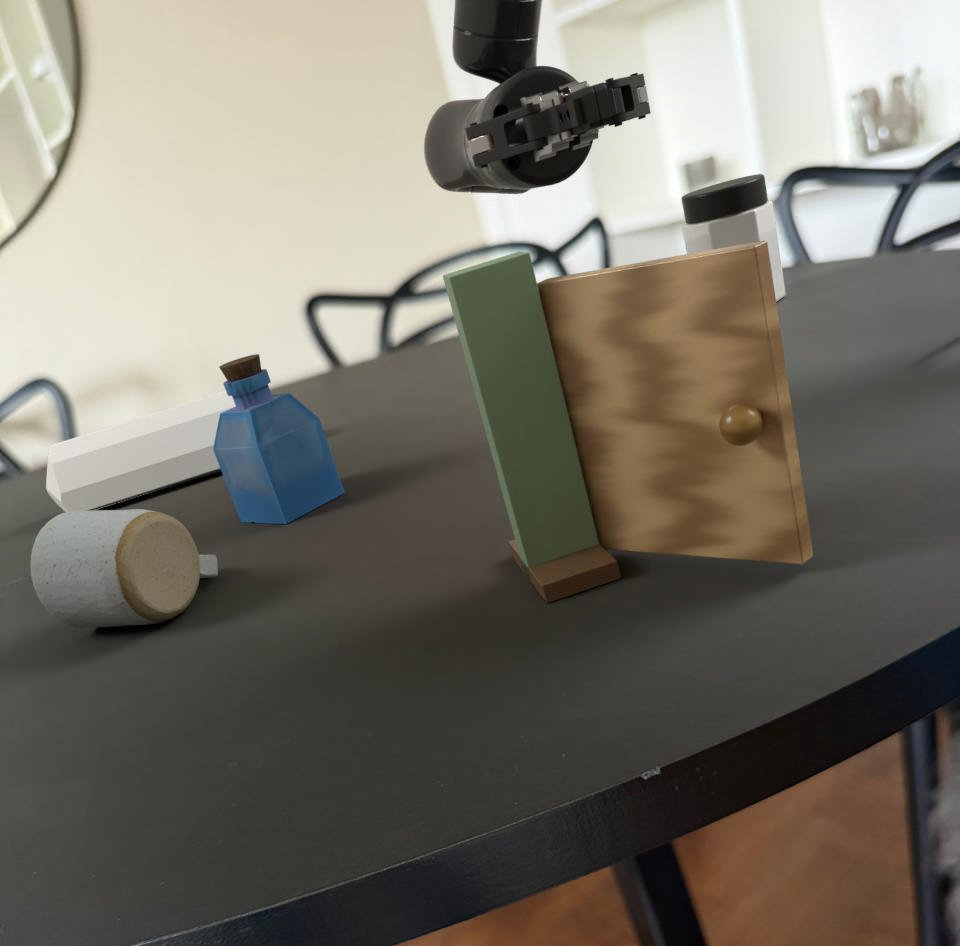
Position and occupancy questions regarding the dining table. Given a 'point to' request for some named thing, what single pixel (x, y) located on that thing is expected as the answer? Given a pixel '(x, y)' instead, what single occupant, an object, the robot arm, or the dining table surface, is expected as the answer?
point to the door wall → (528, 425)
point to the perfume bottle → (271, 449)
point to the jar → (733, 220)
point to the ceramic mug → (116, 567)
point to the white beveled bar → (136, 455)
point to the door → (682, 405)
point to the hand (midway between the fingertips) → (598, 105)
